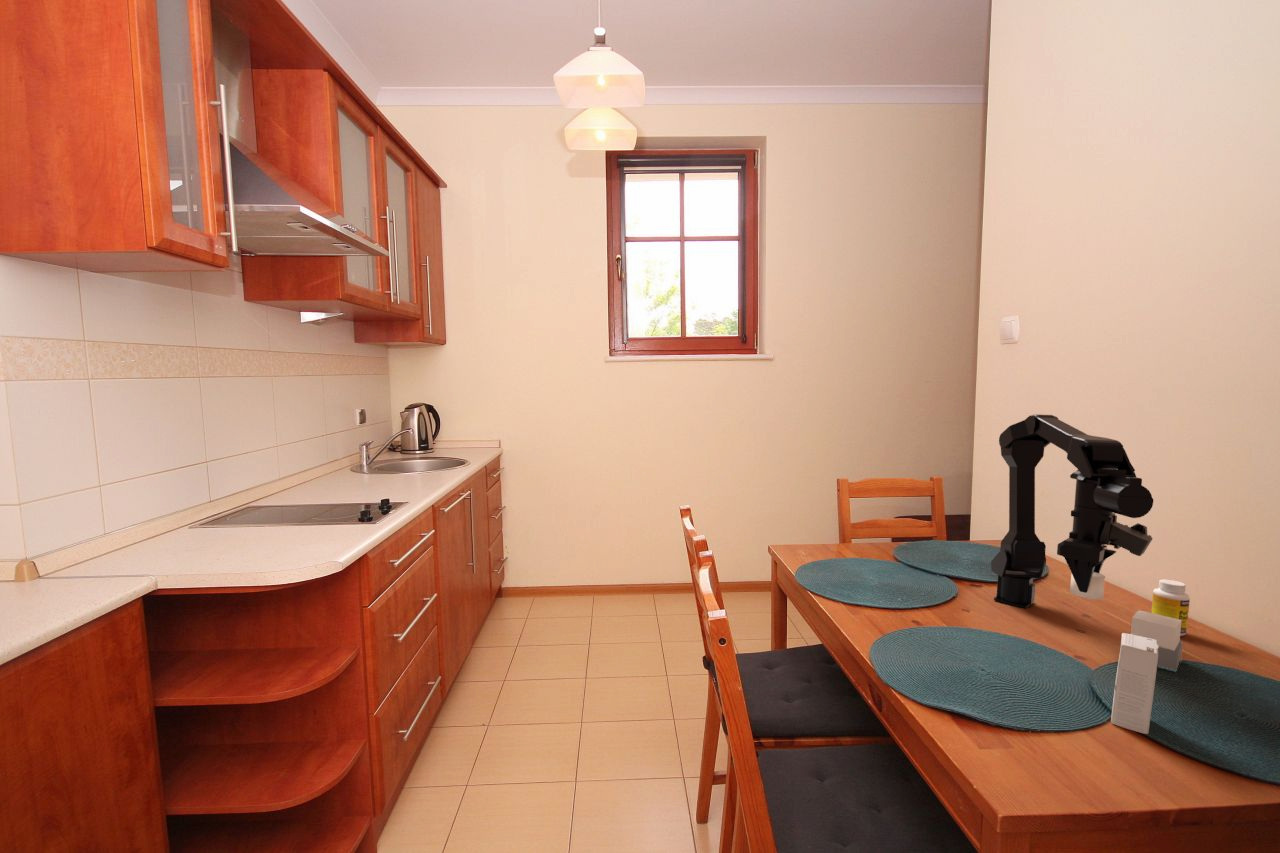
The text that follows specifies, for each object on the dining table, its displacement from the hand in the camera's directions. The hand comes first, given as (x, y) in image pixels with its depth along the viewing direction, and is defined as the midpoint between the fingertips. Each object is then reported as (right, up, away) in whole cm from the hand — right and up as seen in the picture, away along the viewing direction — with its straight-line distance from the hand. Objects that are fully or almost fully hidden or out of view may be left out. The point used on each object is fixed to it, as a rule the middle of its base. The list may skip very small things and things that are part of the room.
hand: (1086, 589), depth 112 cm
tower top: (+9, -8, -4) cm, 13 cm away
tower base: (+9, -12, -4) cm, 16 cm away
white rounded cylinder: (0, -1, 0) cm, 1 cm away
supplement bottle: (+24, -12, +10) cm, 28 cm away
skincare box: (-12, -13, -25) cm, 31 cm away
